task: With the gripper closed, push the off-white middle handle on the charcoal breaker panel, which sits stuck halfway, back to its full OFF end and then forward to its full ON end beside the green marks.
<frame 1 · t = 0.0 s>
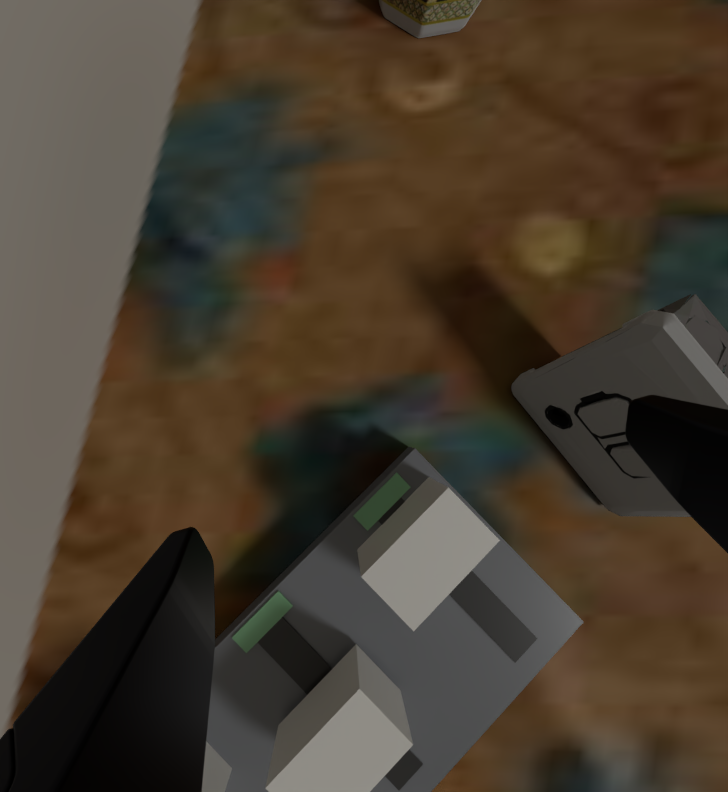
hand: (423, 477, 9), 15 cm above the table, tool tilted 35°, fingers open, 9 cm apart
tripped handle: (340, 734, 18), point 4 cm above the table, slide at 0.0 cm
electrical switch: (586, 417, 24), on the table
breaker panel: (340, 677, 22), on the table
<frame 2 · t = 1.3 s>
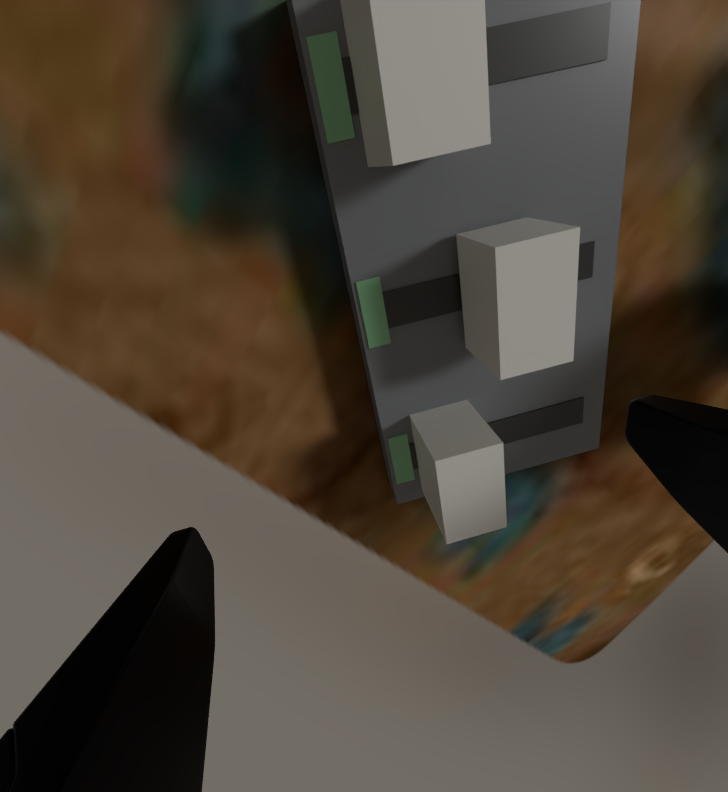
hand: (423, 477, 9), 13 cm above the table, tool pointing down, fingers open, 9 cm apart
tripped handle: (514, 296, 17), point 4 cm above the table, slide at 0.0 cm
breaker panel: (472, 274, 21), on the table
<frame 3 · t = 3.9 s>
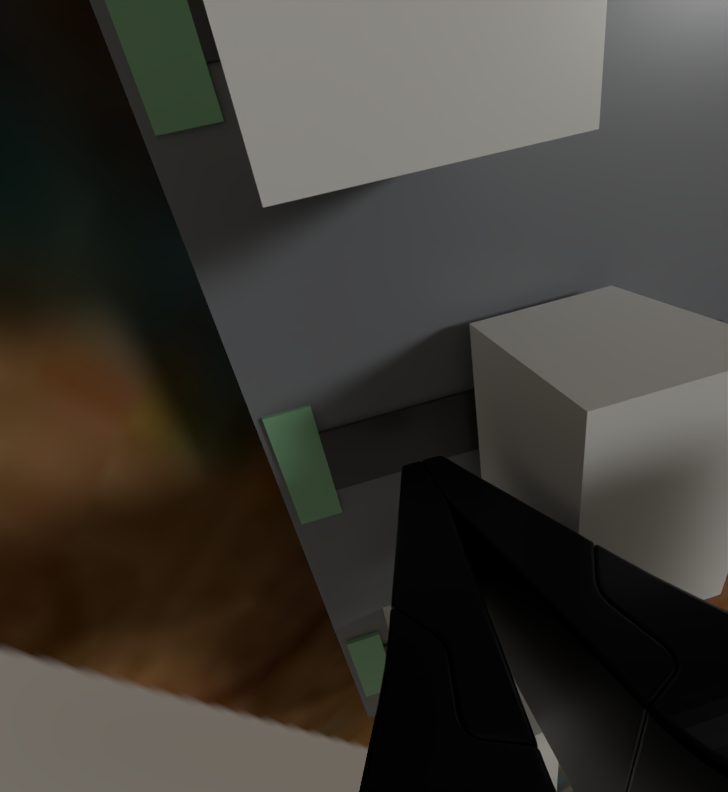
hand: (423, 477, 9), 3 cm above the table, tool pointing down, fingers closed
tripped handle: (592, 455, 8), point 4 cm above the table, slide at -0.1 cm, touching gripper
breaker panel: (488, 369, 12), on the table
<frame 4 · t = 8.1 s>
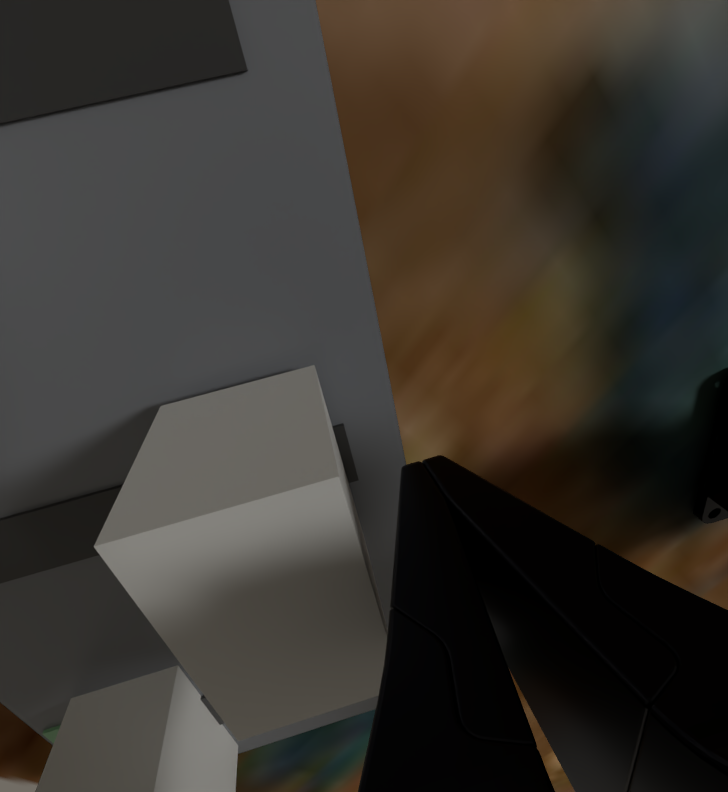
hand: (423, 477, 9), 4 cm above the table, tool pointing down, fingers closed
tripped handle: (278, 543, 8), point 4 cm above the table, slide at -3.0 cm, touching gripper
breaker panel: (163, 458, 11), on the table
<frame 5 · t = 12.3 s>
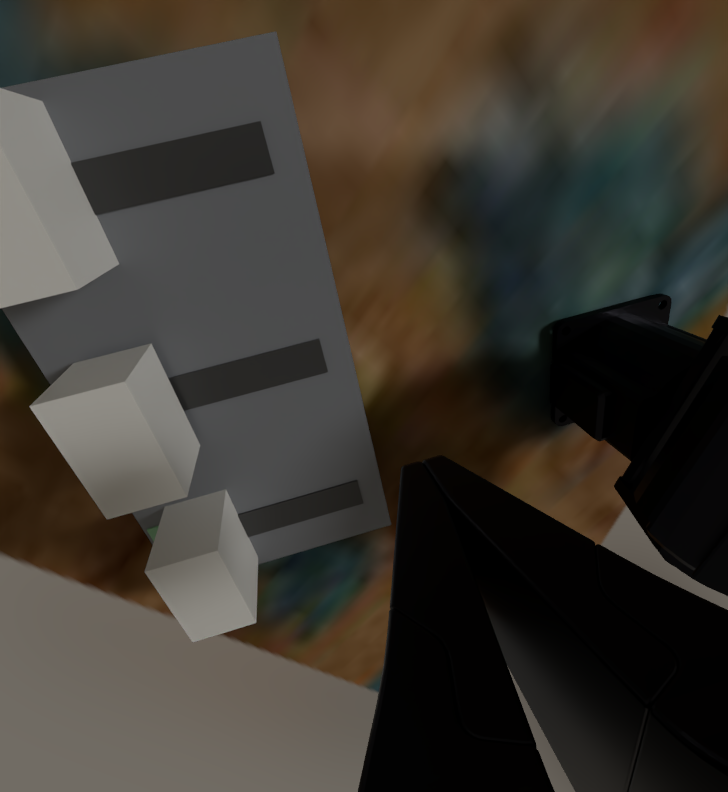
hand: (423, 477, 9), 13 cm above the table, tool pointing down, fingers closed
tripped handle: (129, 429, 16), point 4 cm above the table, slide at 3.1 cm
breaker panel: (219, 365, 20), on the table
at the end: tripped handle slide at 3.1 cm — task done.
